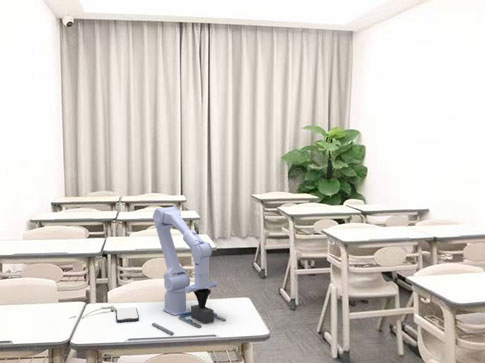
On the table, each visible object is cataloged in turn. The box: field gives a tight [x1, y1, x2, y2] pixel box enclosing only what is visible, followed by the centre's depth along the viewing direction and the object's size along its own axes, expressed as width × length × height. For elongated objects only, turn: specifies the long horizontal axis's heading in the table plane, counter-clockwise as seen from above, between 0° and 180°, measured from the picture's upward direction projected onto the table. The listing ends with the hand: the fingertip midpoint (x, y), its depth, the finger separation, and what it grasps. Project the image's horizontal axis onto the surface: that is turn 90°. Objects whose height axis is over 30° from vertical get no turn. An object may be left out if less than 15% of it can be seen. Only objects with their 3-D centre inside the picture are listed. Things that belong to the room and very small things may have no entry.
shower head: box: [82, 305, 117, 318], centre depth 204 cm, size 5×3×20 cm
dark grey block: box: [190, 304, 215, 325], centre depth 198 cm, size 10×4×5 cm, turn 40°
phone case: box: [115, 307, 140, 324], centre depth 203 cm, size 9×2×16 cm
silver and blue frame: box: [151, 310, 227, 337], centre depth 194 cm, size 15×25×2 cm, turn 130°
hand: (202, 307), depth 197 cm, fingers closed
